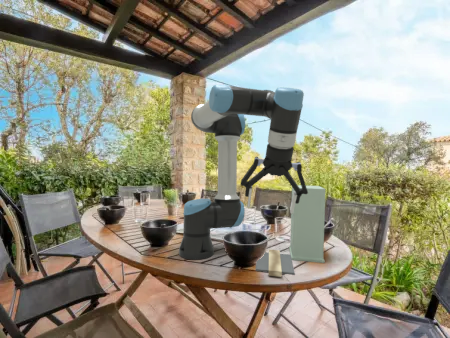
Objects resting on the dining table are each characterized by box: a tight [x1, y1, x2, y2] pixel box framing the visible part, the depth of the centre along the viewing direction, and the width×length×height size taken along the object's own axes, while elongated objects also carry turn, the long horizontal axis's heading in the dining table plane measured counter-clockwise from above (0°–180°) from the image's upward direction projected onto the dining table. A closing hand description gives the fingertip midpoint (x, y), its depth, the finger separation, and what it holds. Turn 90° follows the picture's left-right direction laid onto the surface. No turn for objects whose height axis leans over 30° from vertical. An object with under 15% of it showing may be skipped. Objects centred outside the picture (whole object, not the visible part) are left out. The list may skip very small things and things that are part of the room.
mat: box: [255, 252, 296, 276], centre depth 98 cm, size 14×18×1 cm
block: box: [267, 249, 283, 278], centre depth 95 cm, size 4×21×2 cm, turn 169°
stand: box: [288, 184, 326, 264], centre depth 106 cm, size 13×14×30 cm
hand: (269, 208), depth 78 cm, fingers open, 13 cm apart
